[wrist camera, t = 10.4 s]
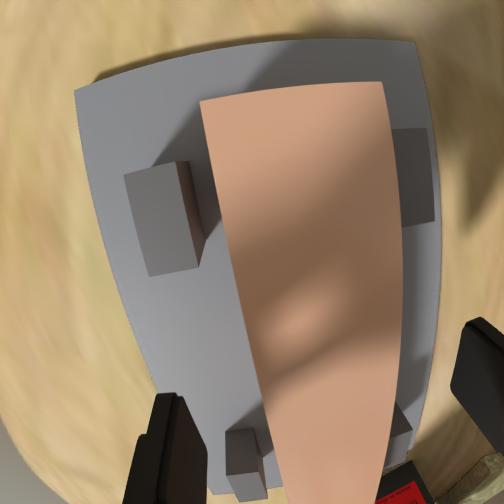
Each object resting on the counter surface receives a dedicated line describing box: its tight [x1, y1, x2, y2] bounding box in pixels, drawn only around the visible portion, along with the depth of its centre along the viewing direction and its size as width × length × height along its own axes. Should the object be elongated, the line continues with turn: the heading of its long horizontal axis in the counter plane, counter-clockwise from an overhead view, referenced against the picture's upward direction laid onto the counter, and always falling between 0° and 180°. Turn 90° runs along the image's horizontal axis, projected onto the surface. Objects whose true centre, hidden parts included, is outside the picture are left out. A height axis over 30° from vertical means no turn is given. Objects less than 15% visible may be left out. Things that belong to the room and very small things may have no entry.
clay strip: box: [200, 82, 403, 504], centre depth 11 cm, size 18×4×5 cm, turn 10°
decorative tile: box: [435, 453, 504, 504], centre depth 24 cm, size 19×20×4 cm
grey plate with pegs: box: [74, 38, 441, 502], centre depth 12 cm, size 24×14×4 cm, turn 10°
